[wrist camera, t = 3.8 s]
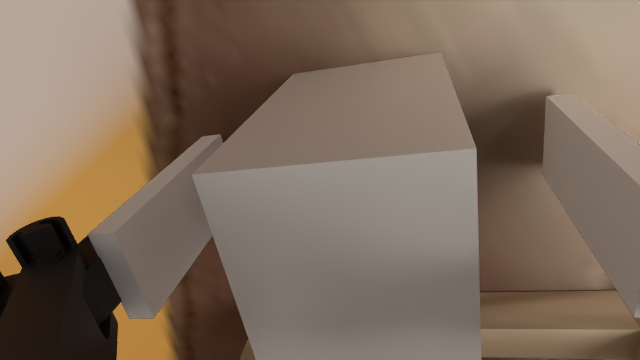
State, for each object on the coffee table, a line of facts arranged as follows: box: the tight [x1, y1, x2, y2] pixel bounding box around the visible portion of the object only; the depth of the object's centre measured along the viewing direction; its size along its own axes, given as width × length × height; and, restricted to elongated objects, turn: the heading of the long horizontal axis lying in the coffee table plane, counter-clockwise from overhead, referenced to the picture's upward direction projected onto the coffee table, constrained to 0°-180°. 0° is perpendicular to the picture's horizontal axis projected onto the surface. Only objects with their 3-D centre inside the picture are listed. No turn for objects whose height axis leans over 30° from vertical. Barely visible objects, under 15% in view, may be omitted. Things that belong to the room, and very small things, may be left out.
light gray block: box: [192, 52, 481, 360], centre depth 12 cm, size 6×5×8 cm
